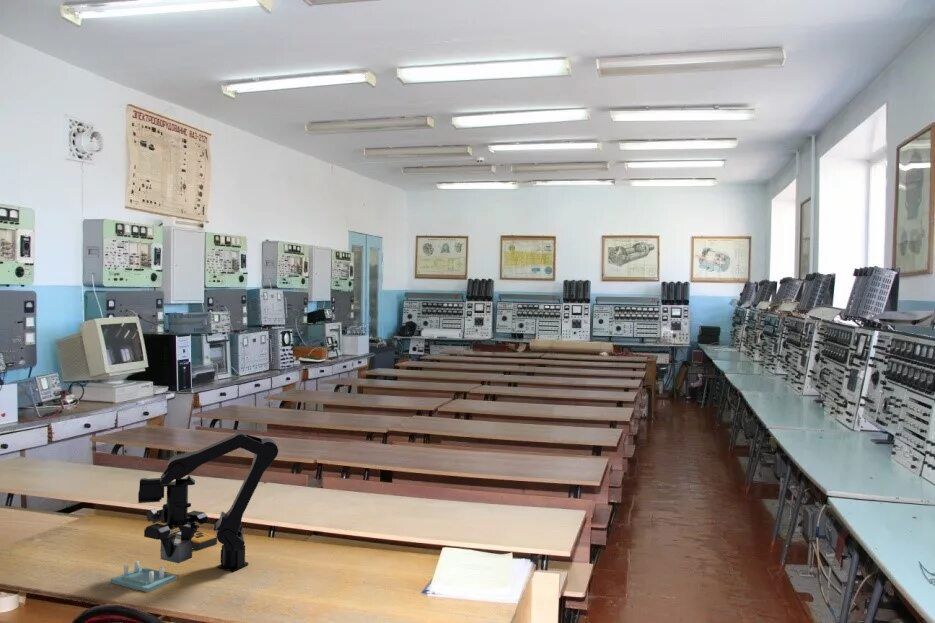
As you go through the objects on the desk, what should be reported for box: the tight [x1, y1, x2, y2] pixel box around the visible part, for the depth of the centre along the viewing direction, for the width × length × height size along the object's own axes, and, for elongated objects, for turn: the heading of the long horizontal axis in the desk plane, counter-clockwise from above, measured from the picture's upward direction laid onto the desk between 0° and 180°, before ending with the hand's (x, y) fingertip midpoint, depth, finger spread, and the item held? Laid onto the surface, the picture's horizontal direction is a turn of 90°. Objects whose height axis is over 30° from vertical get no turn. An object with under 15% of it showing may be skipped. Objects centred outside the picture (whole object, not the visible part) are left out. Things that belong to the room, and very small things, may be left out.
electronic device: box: [172, 528, 218, 551], centre depth 236 cm, size 8×16×3 cm, turn 57°
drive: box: [160, 537, 193, 564], centre depth 210 cm, size 7×5×5 cm
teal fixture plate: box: [110, 560, 177, 593], centre depth 203 cm, size 14×10×4 cm
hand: (176, 554), depth 210 cm, fingers closed on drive, 5 cm apart
